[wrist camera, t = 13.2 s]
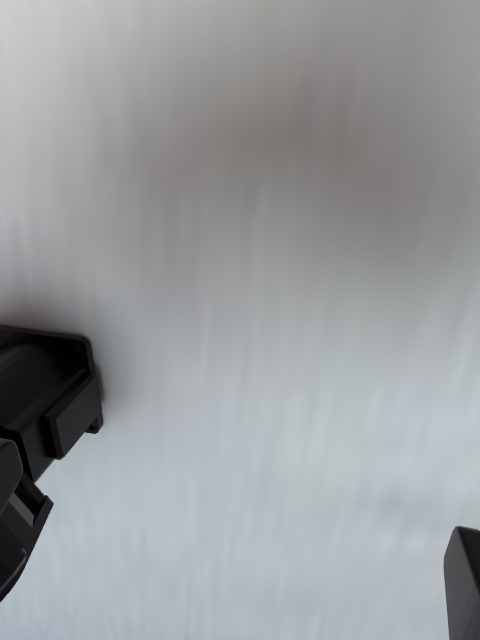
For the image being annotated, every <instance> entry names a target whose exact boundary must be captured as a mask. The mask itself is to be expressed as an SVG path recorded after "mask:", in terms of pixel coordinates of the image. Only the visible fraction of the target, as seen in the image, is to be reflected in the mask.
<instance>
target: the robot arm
mask: <svg viewBox="0 0 480 640" xmlns="http://www.w3.org/2000/svg"><path fill="white" fill-rule="evenodd" d="M78 344H80V345H81V346H82V348H81V347H79V345H78ZM92 424H93V425H94V426H93V425H92ZM101 427H102V419H101V405H100V398H99V392H98V385H97V379H96V376H95V373H94V367H93V360H92V354H91V347H90V343H89V341H88V340H87V339H86V338H84V337H82V336H76V335H68V334H61V333H53V332H46V331H39V330H31V329H24V328H16V327H9V326H1V325H0V602H1V601H2V600H3V599H4V598H5V596H6V595H7V594H8V593H9V592H10V591H11V589H12V588H13V586H14V585H15V584H16V582H17V581H18V579H19V578H20V576H21V574H22V572H23V570H24V568H25V566H26V564H27V562H28V559H29V557H30V555H31V553H32V551H33V548H34V546H35V544H36V542H37V540H38V537H39V535H40V533H41V531H42V529H43V526H44V524H45V522H46V520H47V518H48V515H49V513H50V511H51V509H52V507H53V504H54V503H53V502H52V501H51V500H50V498H49V497H48V496H47V495H44V494H43V493H42V492H41V491H40V489H39V488H38V487H37V486H36V485H35V482H36V481H37V480H38V479H39V478H40V476H41V475H42V474H43V473H44V472H45V470H46V469H47V468H48V467H49V466H50V464H51V463H52V462H53V461H54V459H57V460H61V459H62V458H63V457H65V455H66V454H67V453H68V452H69V451H70V449H71V448H72V447H73V446H74V444H75V443H76V442H77V441H78V439H79V438H80V437H81V436H82V434H83V433H84V432H86V433H92V434H96V433H98V431H99V430H100V429H101ZM444 578H445V590H446V603H447V615H448V627H449V639H450V640H480V531H479V530H477V529H473V528H468V527H462V526H456V527H455V528H454V530H453V532H452V535H451V538H450V541H449V544H448V546H447V549H446V552H445V556H444Z"/></svg>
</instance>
